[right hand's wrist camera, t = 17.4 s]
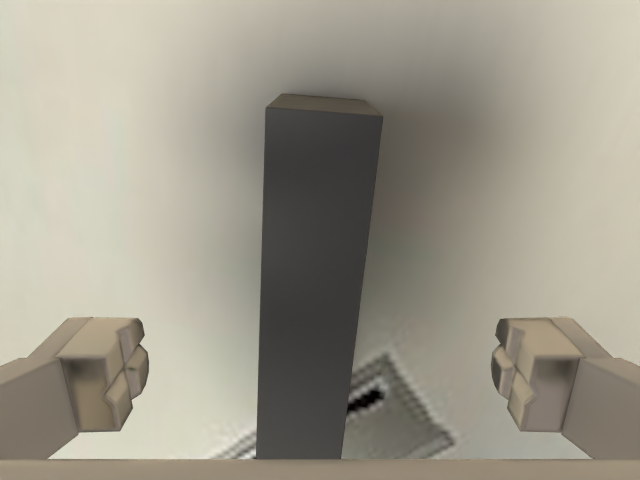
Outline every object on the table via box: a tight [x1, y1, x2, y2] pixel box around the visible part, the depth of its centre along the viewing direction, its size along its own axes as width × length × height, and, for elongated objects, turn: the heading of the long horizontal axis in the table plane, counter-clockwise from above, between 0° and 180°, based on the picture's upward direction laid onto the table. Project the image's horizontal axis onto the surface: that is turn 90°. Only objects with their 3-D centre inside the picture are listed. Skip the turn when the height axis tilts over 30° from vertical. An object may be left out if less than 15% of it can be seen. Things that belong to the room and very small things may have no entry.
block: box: [256, 94, 383, 459], centre depth 30 cm, size 28×5×9 cm, turn 176°
